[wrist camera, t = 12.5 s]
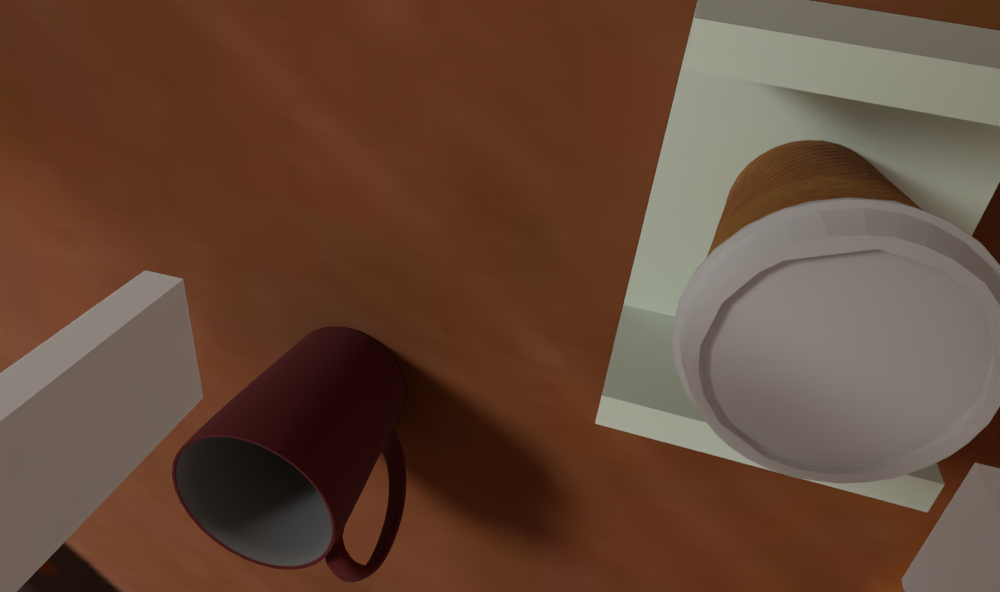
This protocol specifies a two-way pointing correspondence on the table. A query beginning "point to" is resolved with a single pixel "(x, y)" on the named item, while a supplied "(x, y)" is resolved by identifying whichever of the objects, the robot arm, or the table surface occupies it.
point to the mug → (300, 456)
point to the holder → (788, 118)
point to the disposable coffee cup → (839, 322)
